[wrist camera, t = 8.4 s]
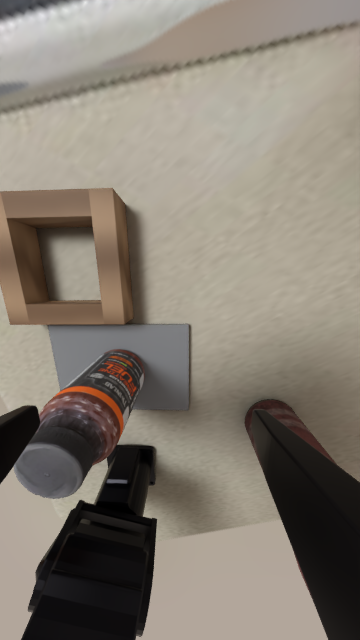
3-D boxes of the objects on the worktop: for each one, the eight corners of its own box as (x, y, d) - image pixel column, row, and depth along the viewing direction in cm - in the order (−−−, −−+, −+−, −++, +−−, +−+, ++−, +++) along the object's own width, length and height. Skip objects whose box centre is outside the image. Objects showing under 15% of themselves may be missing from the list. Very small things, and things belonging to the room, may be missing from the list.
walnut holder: (133, 317, 20) (124, 324, 17) (35, 317, 20) (10, 324, 17) (125, 203, 17) (112, 188, 14) (12, 206, 17) (-23, 192, 14)
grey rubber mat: (188, 406, 22) (188, 410, 22) (67, 404, 23) (63, 408, 22) (188, 323, 20) (188, 325, 19) (51, 324, 20) (47, 325, 20)
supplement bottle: (155, 362, 20) (119, 463, 9) (132, 400, 21) (76, 527, 10) (109, 337, 20) (13, 412, 9) (88, 377, 21) (-19, 486, 10)
